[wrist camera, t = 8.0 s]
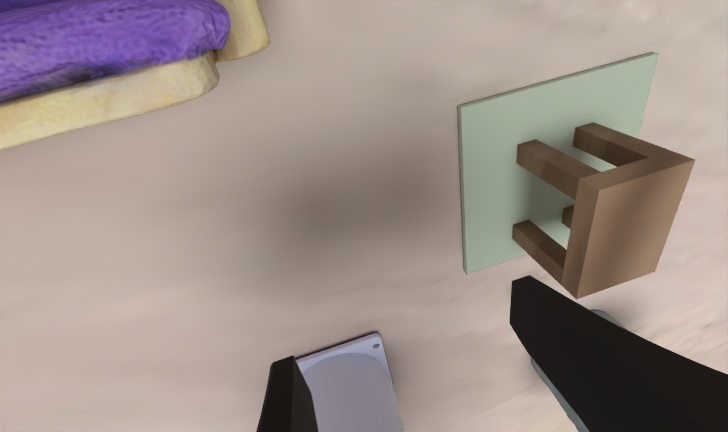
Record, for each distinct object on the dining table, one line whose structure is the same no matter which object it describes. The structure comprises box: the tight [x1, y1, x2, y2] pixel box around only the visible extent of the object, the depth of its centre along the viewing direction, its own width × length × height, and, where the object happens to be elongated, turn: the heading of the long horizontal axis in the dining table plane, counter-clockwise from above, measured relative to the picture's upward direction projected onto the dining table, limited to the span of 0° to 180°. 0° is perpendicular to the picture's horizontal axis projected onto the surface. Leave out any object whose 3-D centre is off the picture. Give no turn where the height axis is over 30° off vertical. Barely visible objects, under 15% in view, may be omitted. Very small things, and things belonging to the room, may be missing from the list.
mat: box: [458, 52, 659, 274], centre depth 23 cm, size 12×12×1 cm
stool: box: [512, 122, 695, 299], centre depth 21 cm, size 5×7×6 cm
